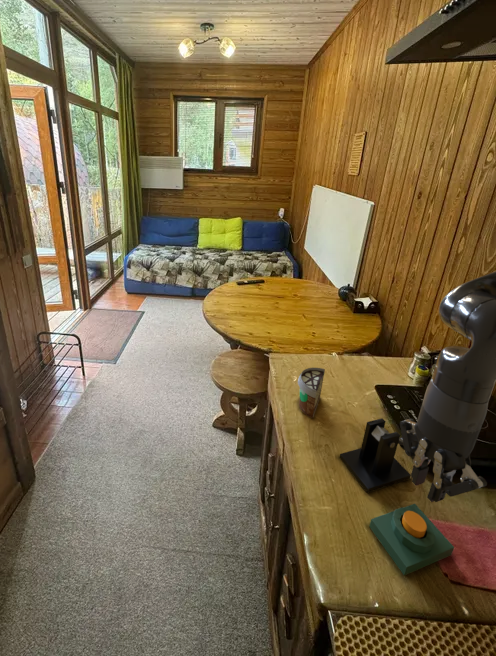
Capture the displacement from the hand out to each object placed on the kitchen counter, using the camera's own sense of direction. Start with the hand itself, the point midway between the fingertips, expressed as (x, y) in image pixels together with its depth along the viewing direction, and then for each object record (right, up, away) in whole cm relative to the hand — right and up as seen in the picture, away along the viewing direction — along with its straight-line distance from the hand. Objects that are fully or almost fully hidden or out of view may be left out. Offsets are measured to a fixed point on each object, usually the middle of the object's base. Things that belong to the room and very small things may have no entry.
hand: (425, 490), depth 54 cm
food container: (-9, -1, +38) cm, 39 cm away
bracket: (+1, -8, +18) cm, 20 cm away
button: (0, -9, +3) cm, 9 cm away
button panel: (0, -12, +4) cm, 13 cm away
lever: (+4, -2, +17) cm, 18 cm away
